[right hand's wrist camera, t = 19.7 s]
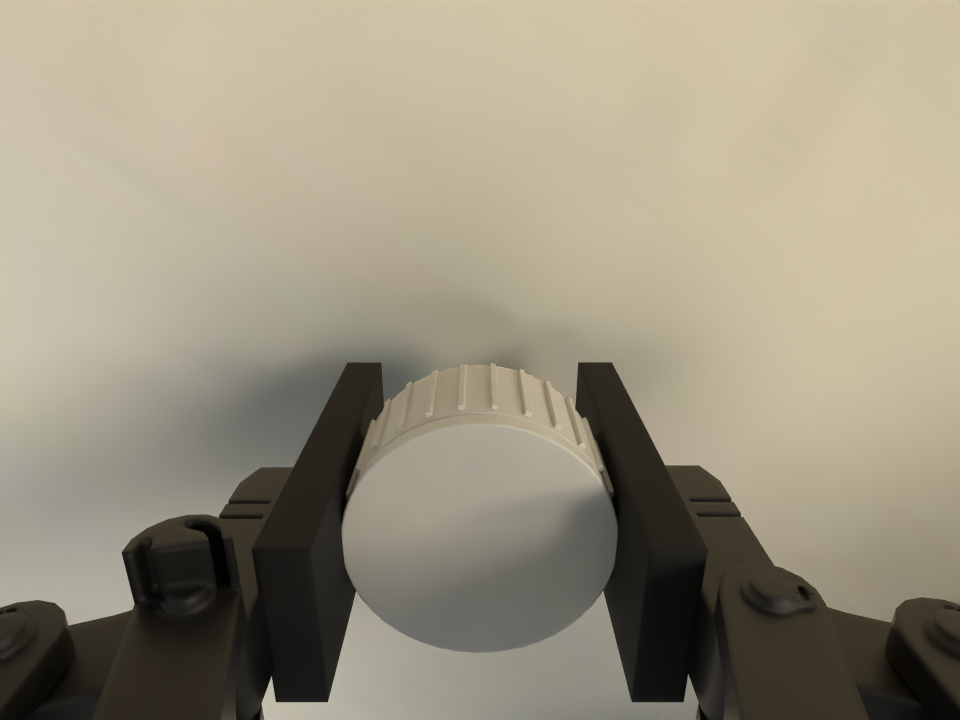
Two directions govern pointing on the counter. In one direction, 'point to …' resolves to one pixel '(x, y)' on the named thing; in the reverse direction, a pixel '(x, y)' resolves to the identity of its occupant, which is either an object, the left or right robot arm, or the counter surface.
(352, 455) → the right robot arm
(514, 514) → the lid
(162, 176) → the counter surface
